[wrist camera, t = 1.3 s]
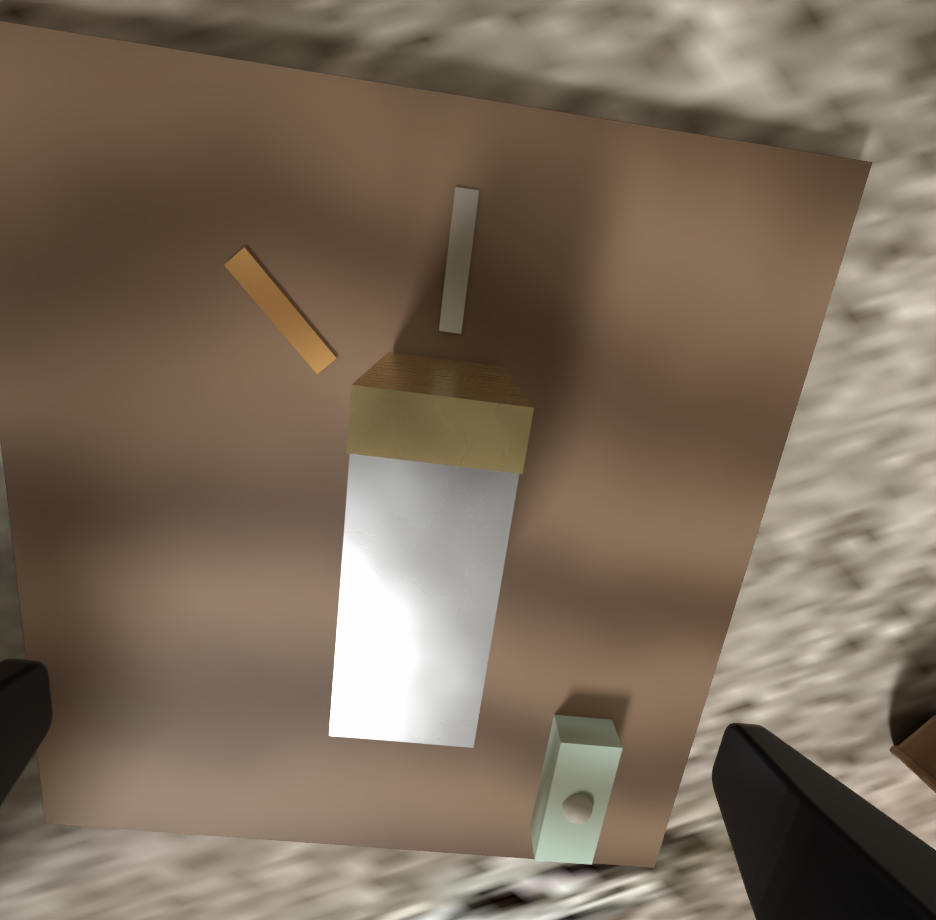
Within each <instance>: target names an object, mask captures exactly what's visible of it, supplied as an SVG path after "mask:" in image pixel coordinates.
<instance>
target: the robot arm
mask: <svg viewBox="0 0 936 920" xmlns="http://www.w3.org/2000/svg"><path fill="white" fill-rule="evenodd" d="M52 718H53V707H52V697H51V687H50V678H49V670H48V667H47V666H46V665H45V663H43V662H41V661H36V660H24V659H6V660H3V661H0V807H1V806H2V804H3V803H4V801H5V799H6V798H7V796H8V795H9V793H10V792H11V790H12V789H13V787H14V785H15V784H16V782H17V781H18V779H19V778H20V776H21V774H22V773H23V771H24V770H25V768H26V767H27V765H28V764H29V762H30V760H31V759H32V757H33V756H34V754H35V753H36V751H37V749H38V748H39V746H40V745H41V743H42V742H43V740H44V738H45V737H46V735H47V733H48V731H49V729H50V726H51V723H52ZM712 783H713V788H714V792H715V795H716V798H717V801H718V804H719V807H720V811H721V814H722V817H723V820H724V823H725V826H726V829H727V832H728V836H729V839H730V842H731V845H732V848H733V851H734V854H735V857H736V861H737V864H738V867H739V870H740V873H741V876H742V879H743V883H744V886H745V889H746V892H747V895H748V898H749V901H750V904H751V906H752V909H753V912H754V915H755V918H756V920H936V850H935V849H933V848H932V847H930V846H929V845H928V844H926V843H925V842H924V841H922V840H921V839H919V838H918V837H917V836H915V835H914V834H912V833H911V832H910V831H908V830H907V829H905V828H904V827H903V826H901V825H900V824H898V823H897V822H896V821H894V820H893V819H891V818H890V817H889V816H887V815H886V814H884V813H883V812H882V811H880V810H879V809H877V808H876V807H875V806H873V805H872V804H870V803H869V802H868V801H866V800H865V799H863V798H862V797H861V796H859V795H858V794H856V793H855V792H854V791H852V790H851V789H849V788H848V787H847V786H845V785H844V784H842V783H841V782H840V781H838V780H837V779H835V778H834V777H833V776H831V775H830V774H828V773H827V772H826V771H824V770H823V769H821V768H820V767H819V766H817V765H816V764H814V763H813V762H812V761H810V760H809V759H807V758H806V757H805V756H803V755H802V754H800V753H799V752H798V751H796V750H795V749H793V748H792V747H791V746H789V745H788V744H786V743H785V742H784V741H782V740H781V739H779V738H778V737H777V736H775V735H774V734H772V733H771V732H770V731H768V730H767V729H765V728H764V727H762V726H760V725H755V724H744V723H732V724H730V725H729V726H728V727H727V728H726V730H725V732H724V735H723V738H722V741H721V744H720V747H719V750H718V753H717V756H716V759H715V763H714V766H713V770H712Z"/></svg>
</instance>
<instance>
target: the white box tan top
mask: <svg viewBox="0 0 936 920" xmlns="http://www.w3.org/2000/svg"><path fill="white" fill-rule="evenodd" d="M533 410H534V407H533V406H532V404H531V403H530V402H529V400H528V399H527V398H526V396H525V395H524V393H523V392H522V391H521V389H520V388H519V387H518V385H517V384H516V382H515V381H514V380H513V378H512V377H511V376H510V374H509V373H508V372H507V370H506V369H505V367H502V366H494V365H486V364H479V363H471V362H464V361H456V360H448V359H441V358H433V357H425V356H418V355H410V354H402V353H395V352H388V353H387V354H386V355H385V356H383V357H382V358H381V359H380V360H379V361H378V362H377V363H375V364H374V365H373V366H372V367H371V368H370V369H369V370H367V371H366V372H365V373H364V374H363V375H362V376H361V377H359V378H358V379H357V380H356V381H355V382H354V383H353V384H351V394H350V408H349V422H348V437H347V451H346V453H348V454H350V456H349V470H348V483H347V497H346V511H345V524H344V538H343V552H342V565H341V579H340V593H339V606H338V620H337V634H336V647H335V661H334V675H333V688H332V702H331V716H330V729H329V736H339V737H351V738H363V739H374V740H386V741H398V742H410V743H421V744H433V745H445V746H457V747H469V748H474V742H475V736H476V730H477V724H478V718H479V712H480V706H481V700H482V694H483V688H484V682H485V676H486V670H487V664H488V658H489V652H490V646H491V640H492V634H493V628H494V622H495V616H496V611H497V605H498V599H499V593H500V587H501V581H502V575H503V569H504V563H505V557H506V551H507V545H508V539H509V533H510V527H511V521H512V515H513V509H514V503H515V497H516V491H517V485H518V479H519V474H523V469H524V463H525V458H526V452H527V446H528V440H529V434H530V428H531V422H532V416H533Z"/></svg>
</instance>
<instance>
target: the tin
mask: <svg viewBox="0 0 936 920" xmlns="http://www.w3.org/2000/svg"><path fill="white" fill-rule="evenodd" d="M890 752H891V753H892V754H893V755H895V756H896V757H897V758H899V759H900V760H901V761H902V762H903V763H904V764H905V765H906V766H907V767H908V768H909V769H911V770H912V771H913V772H914V773H915V774H916V775H917V776H918V777H919V778H920V779H921V780H922V781H924V782H925V783H926V784H927V785H928V786H929V787H930V788H931V789H932V790H933V791H934V792H935V793H936V715H934V716H933V717H932V718H930V719H929V720H928V721H927V722H926V723H925V724H923V725H922V726H921V727H920V728H919V729H918V730H916V731H915V732H914V733H913V734H912V735H910V736H909V737H908V738H907V739H906V740H904V741H903V742H902V743H901V744H900V745H898V746H892V747H891V748H890Z"/></svg>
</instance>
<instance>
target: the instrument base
mask: <svg viewBox="0 0 936 920" xmlns="http://www.w3.org/2000/svg"><path fill="white" fill-rule="evenodd" d="M871 165H872V162H867V161H860V160H854V159H848V158H842V157H836V156H830V155H823V154H817V153H811V152H805V151H799V150H793V149H787V148H780V147H774V146H768V145H762V144H756V143H750V142H743V141H737V140H731V139H725V138H719V137H713V136H706V135H700V134H694V133H688V132H682V131H676V130H669V129H663V128H657V127H651V126H645V125H639V124H632V123H626V122H620V121H614V120H608V119H602V118H595V117H589V116H583V115H577V114H571V113H565V112H558V111H552V110H546V109H540V108H534V107H528V106H521V105H515V104H509V103H503V102H497V101H491V100H484V99H478V98H472V97H466V96H460V95H454V94H447V93H441V92H435V91H429V90H423V89H417V88H410V87H404V86H398V85H392V84H386V83H380V82H373V81H367V80H361V79H355V78H349V77H343V76H336V75H330V74H324V73H318V72H312V71H306V70H299V69H293V68H287V67H281V66H275V65H269V64H262V63H256V62H250V61H244V60H238V59H232V58H226V57H219V56H213V55H207V54H201V53H195V52H189V51H182V50H176V49H170V48H164V47H158V46H152V45H145V44H139V43H133V42H127V41H121V40H115V39H108V38H102V37H96V36H90V35H84V34H78V33H71V32H65V31H59V30H53V29H47V28H41V27H34V26H28V25H22V24H16V23H10V22H4V21H0V440H1V448H2V457H3V465H4V474H5V482H6V491H7V500H8V508H9V517H10V525H11V534H12V542H13V551H14V560H15V568H16V577H17V585H18V594H19V603H20V611H21V620H22V628H23V637H24V645H25V654H26V660H36V661H41V662H43V663H45V665H46V666H47V667H48V670H49V678H50V687H51V697H52V707H53V718H52V723H51V726H50V729H49V731H48V733H47V735H46V737H45V738H44V740H43V742H42V743H41V745H40V746H39V748H38V749H37V757H38V765H39V774H40V783H41V791H42V800H43V808H44V817H45V824H57V825H71V826H85V827H99V828H112V829H126V830H140V831H154V832H168V833H182V834H196V835H209V836H223V837H237V838H251V839H265V840H279V841H293V842H306V843H320V844H334V845H348V846H362V847H376V848H390V849H403V850H417V851H431V852H445V853H459V854H473V855H487V856H500V857H514V858H528V859H535V860H537V861H551V862H565V863H579V864H592V863H597V864H611V865H625V866H639V867H653V868H654V866H655V863H656V860H657V857H658V853H659V850H660V847H661V844H662V840H663V837H664V834H665V831H666V827H667V824H668V821H669V818H670V815H671V811H672V808H673V805H674V802H675V798H676V795H677V792H678V789H679V785H680V782H681V779H682V776H683V773H684V769H685V766H686V763H687V760H688V756H689V753H690V750H691V747H692V743H693V740H694V737H695V734H696V730H697V727H698V724H699V721H700V718H701V714H702V711H703V708H704V705H705V701H706V698H707V695H708V692H709V688H710V685H711V682H712V679H713V676H714V672H715V669H716V666H717V663H718V659H719V656H720V653H721V650H722V646H723V643H724V640H725V637H726V633H727V630H728V627H729V624H730V621H731V617H732V614H733V611H734V608H735V604H736V601H737V598H738V595H739V591H740V588H741V585H742V582H743V579H744V575H745V572H746V569H747V566H748V562H749V559H750V556H751V553H752V549H753V546H754V543H755V540H756V537H757V533H758V530H759V527H760V524H761V520H762V517H763V514H764V511H765V507H766V504H767V501H768V498H769V494H770V491H771V488H772V485H773V482H774V478H775V475H776V472H777V469H778V465H779V462H780V459H781V456H782V452H783V449H784V446H785V443H786V440H787V436H788V433H789V430H790V427H791V423H792V420H793V417H794V414H795V410H796V407H797V404H798V401H799V397H800V394H801V391H802V388H803V385H804V381H805V378H806V375H807V372H808V368H809V365H810V362H811V359H812V355H813V352H814V349H815V346H816V343H817V339H818V336H819V333H820V330H821V326H822V323H823V320H824V317H825V313H826V310H827V307H828V304H829V300H830V297H831V294H832V291H833V288H834V284H835V281H836V278H837V275H838V271H839V268H840V265H841V262H842V258H843V255H844V252H845V249H846V246H847V242H848V239H849V236H850V233H851V229H852V226H853V223H854V220H855V216H856V213H857V210H858V207H859V204H860V200H861V197H862V194H863V191H864V187H865V184H866V181H867V178H868V174H869V171H870V168H871ZM388 352H395V353H402V354H410V355H418V356H425V357H433V358H441V359H448V360H456V361H464V362H471V363H479V364H486V365H494V366H502V367H505V369H506V370H507V372H508V373H509V374H510V376H511V377H512V378H513V380H514V381H515V382H516V384H517V385H518V387H519V388H520V389H521V391H522V392H523V393H524V395H525V396H526V398H527V399H528V400H529V402H530V403H531V404H532V406H533V407H534V410H533V416H532V422H531V428H530V434H529V440H528V446H527V452H526V458H525V463H524V469H523V474H519V479H518V485H517V491H516V497H515V503H514V509H513V515H512V521H511V527H510V533H509V539H508V545H507V551H506V557H505V563H504V569H503V575H502V581H501V587H500V593H499V599H498V605H497V611H496V616H495V622H494V628H493V634H492V640H491V646H490V652H489V658H488V664H487V670H486V676H485V682H484V688H483V694H482V700H481V706H480V712H479V718H478V724H477V730H476V736H475V742H474V748H469V747H457V746H445V745H433V744H421V743H410V742H398V741H386V740H374V739H363V738H351V737H339V736H329V729H330V716H331V702H332V688H333V675H334V661H335V647H336V634H337V620H338V606H339V593H340V579H341V565H342V552H343V538H344V524H345V511H346V497H347V483H348V470H349V456H350V454H348V453H346V451H347V437H348V422H349V408H350V394H351V384H353V383H354V382H355V381H356V380H357V379H358V378H359V377H361V376H362V375H363V374H364V373H365V372H366V371H367V370H369V369H370V368H371V367H372V366H373V365H374V364H375V363H377V362H378V361H379V360H380V359H381V358H382V357H383V356H385V355H386V354H387V353H388Z"/></svg>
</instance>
